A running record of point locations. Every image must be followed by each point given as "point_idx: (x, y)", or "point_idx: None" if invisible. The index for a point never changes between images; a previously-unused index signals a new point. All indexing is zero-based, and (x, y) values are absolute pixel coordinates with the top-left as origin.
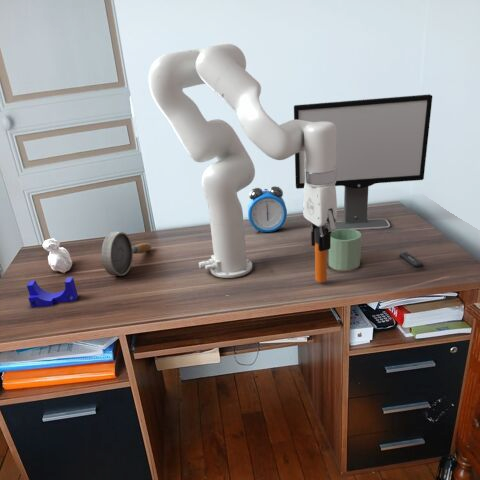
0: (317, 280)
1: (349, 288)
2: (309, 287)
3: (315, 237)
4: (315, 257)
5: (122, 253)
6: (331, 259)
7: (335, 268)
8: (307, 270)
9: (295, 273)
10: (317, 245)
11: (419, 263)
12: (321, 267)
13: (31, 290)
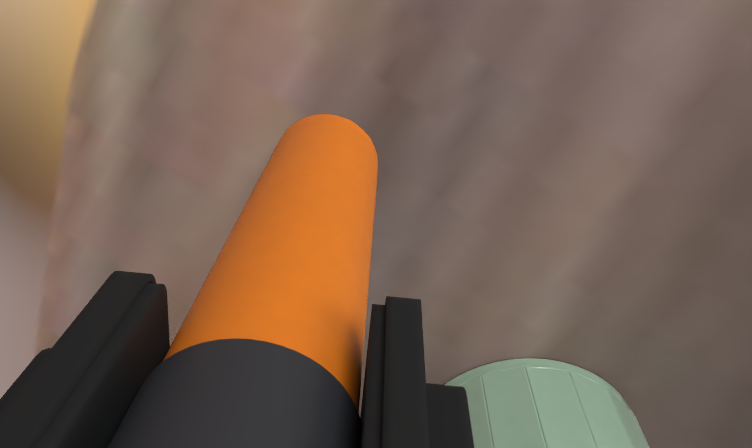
0: (306, 118)
1: (181, 286)
2: (360, 43)
3: (210, 417)
4: (311, 214)
5: None
6: (543, 415)
7: (485, 376)
8: (649, 208)
9: (681, 90)
10: (212, 326)
11: None
12: (249, 198)
13: None
